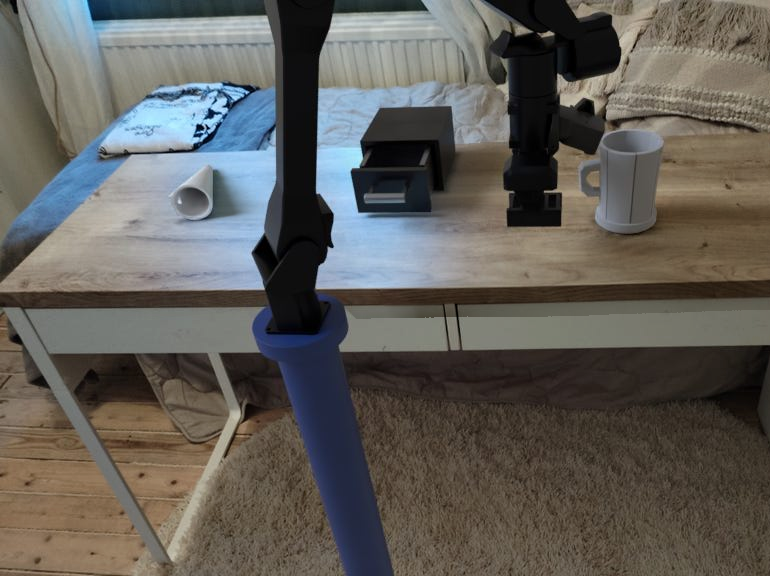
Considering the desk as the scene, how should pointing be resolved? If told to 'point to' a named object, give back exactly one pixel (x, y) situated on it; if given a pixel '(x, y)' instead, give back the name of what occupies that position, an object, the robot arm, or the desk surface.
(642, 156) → the cup
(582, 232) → the desk surface
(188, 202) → the long cone
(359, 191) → the open drawer with handle
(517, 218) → the rack
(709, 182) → the desk surface
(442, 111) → the black drawer box
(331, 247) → the robot arm
